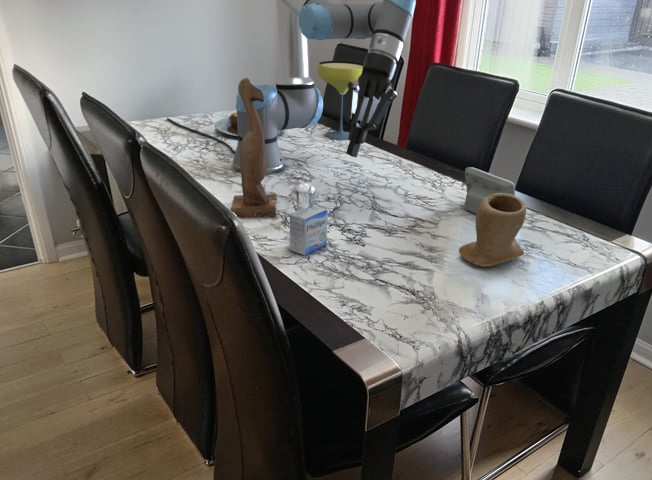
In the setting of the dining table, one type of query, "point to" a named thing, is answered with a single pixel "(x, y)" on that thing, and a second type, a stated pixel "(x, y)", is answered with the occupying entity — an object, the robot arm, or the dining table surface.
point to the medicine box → (308, 230)
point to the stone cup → (496, 231)
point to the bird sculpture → (253, 161)
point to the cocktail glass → (339, 84)
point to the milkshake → (304, 196)
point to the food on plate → (229, 125)
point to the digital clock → (483, 187)
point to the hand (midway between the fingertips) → (351, 155)
